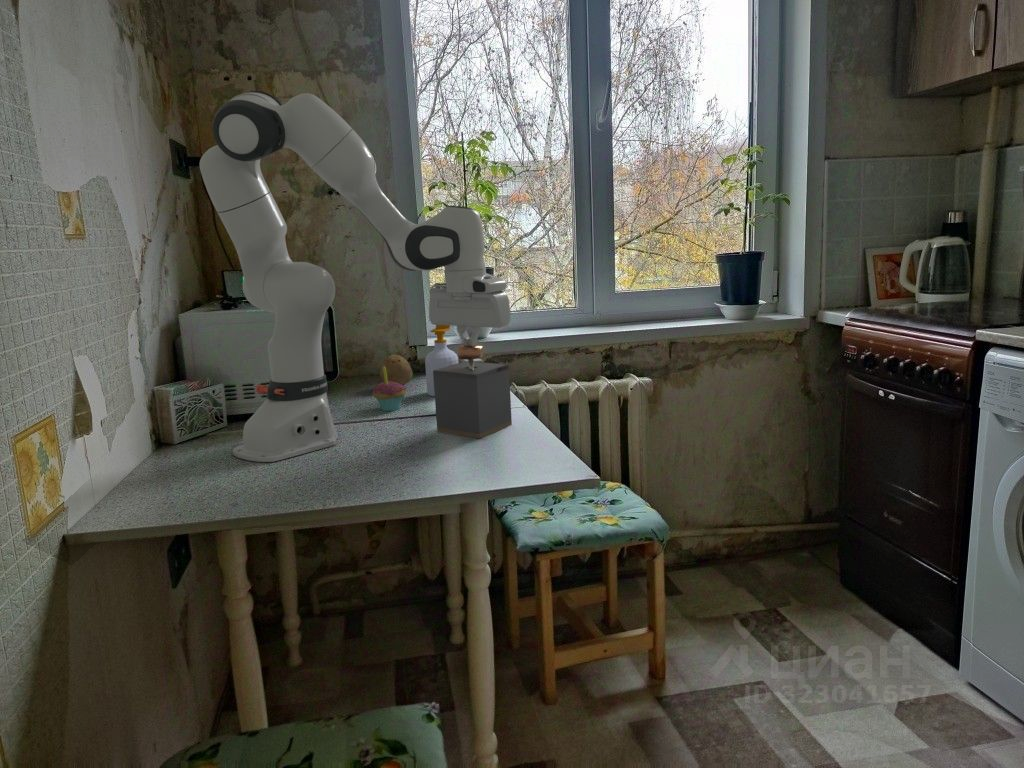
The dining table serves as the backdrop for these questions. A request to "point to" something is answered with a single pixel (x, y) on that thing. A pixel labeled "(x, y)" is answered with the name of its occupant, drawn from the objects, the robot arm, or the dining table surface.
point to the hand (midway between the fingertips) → (470, 346)
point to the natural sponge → (396, 369)
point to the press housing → (472, 399)
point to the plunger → (470, 354)
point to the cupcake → (389, 394)
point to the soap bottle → (438, 357)
